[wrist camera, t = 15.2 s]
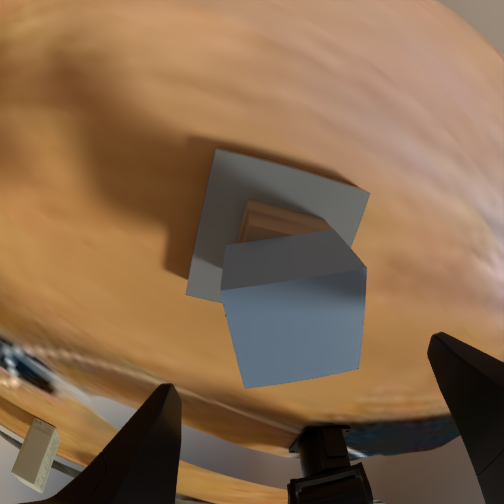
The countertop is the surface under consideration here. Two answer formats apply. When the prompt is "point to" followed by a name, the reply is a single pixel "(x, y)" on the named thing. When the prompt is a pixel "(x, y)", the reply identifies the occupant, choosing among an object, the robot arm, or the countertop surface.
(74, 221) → the countertop surface
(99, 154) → the countertop surface
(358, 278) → the slate block
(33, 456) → the skincare box
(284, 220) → the walnut cube
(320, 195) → the slate pad
